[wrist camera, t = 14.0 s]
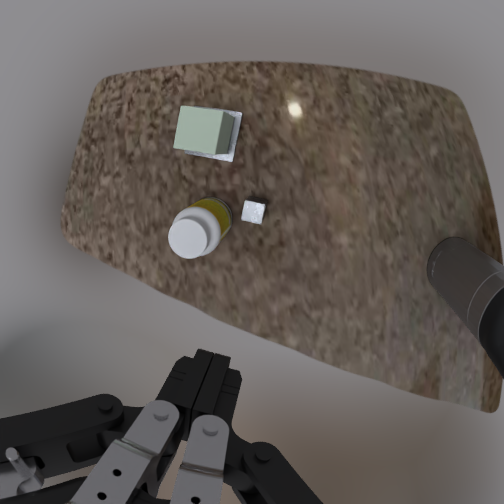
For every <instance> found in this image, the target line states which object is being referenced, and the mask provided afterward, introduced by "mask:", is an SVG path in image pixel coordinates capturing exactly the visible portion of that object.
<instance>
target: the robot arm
mask: <svg viewBox="0 0 504 504" xmlns="http://www.w3.org/2000/svg"><path fill="white" fill-rule="evenodd" d="M427 273H428V278H429V281H430V283H431V284H432V286H433V287H434V288H435V289H436V290H437V291H438V293H439V294H440V295H441V296H442V297H443V298H444V300H445V301H446V302H447V303H448V304H449V306H450V307H451V308H452V309H453V310H454V312H455V313H456V314H457V315H458V316H459V318H460V319H461V320H462V321H463V323H464V324H465V325H466V326H467V328H468V329H469V330H470V331H471V333H472V334H473V335H474V336H475V338H476V339H477V340H478V341H479V343H480V344H481V345H482V347H483V348H484V349H485V351H486V352H487V354H488V356H489V357H490V359H491V360H492V362H493V363H494V365H495V366H496V368H497V369H498V371H499V372H500V374H501V376H502V377H503V379H504V266H503V265H501V264H500V263H499V262H497V261H496V260H494V259H493V258H491V257H490V256H488V255H487V254H485V253H484V252H482V251H481V250H479V249H478V248H476V247H475V246H473V245H472V244H470V243H469V242H467V241H466V240H464V239H462V238H458V237H452V238H448V239H446V240H444V241H442V242H441V243H440V244H439V245H438V246H437V247H436V248H435V249H434V251H433V252H432V254H431V256H430V258H429V262H428V267H427ZM230 359H231V357H228V356H224V355H220V354H217V353H215V354H214V353H213V352H209V351H206V350H202V349H198V350H197V352H196V354H195V356H194V358H190V357H186V356H184V357H182V358H181V359H179V360H178V361H176V363H175V365H174V367H173V368H172V371H171V372H170V374H169V376H168V377H167V379H166V381H165V383H164V385H163V387H162V389H161V390H160V392H159V394H158V396H157V398H156V399H155V401H152V402H149V403H148V404H147V405H146V406H144V407H129V406H123V405H122V403H121V401H120V400H119V399H118V398H117V397H115V396H113V395H110V394H100V395H96V396H92V397H89V398H86V399H82V400H78V401H74V402H71V403H67V404H63V405H59V406H55V407H51V408H47V409H43V410H39V411H34V412H30V413H25V414H21V415H16V416H12V417H7V418H1V419H0V504H220V497H221V490H222V484H223V482H224V483H226V484H228V485H230V486H232V489H233V491H234V493H235V494H236V496H237V497H238V499H239V500H240V502H241V503H242V504H323V503H322V502H321V501H320V500H319V498H318V497H317V496H316V495H315V494H314V493H313V491H312V490H311V489H310V488H309V487H308V486H307V484H306V483H305V482H304V481H303V480H302V479H301V477H300V476H299V475H298V474H297V473H296V471H295V470H294V469H293V468H292V467H291V465H290V464H289V463H288V461H287V460H286V459H285V458H284V456H283V455H282V454H281V453H280V451H279V450H278V449H277V448H276V447H275V446H273V445H271V444H269V443H266V442H255V443H252V444H251V443H249V442H247V441H245V440H243V439H241V438H240V437H238V436H237V435H236V434H235V432H234V431H233V429H232V425H231V423H232V418H233V414H234V410H235V406H236V401H237V398H238V394H239V390H240V386H241V382H242V378H241V375H240V371H238V370H234V369H230V368H229V364H230ZM188 438H189V439H188ZM181 440H184V441H188V442H187V446H186V450H185V454H184V458H183V461H182V464H181V465H180V468H179V471H178V475H177V478H176V482H175V486H174V490H173V494H172V498H171V500H165V499H158V498H156V497H157V494H158V490H159V487H160V484H161V482H162V481H163V479H164V477H165V475H166V473H167V471H168V469H169V467H170V465H171V463H172V461H173V459H174V457H175V455H176V453H177V449H178V447H179V444H180V442H181ZM94 464H96V466H95V467H94V469H93V470H92V472H91V473H90V474H89V476H85V477H79V478H75V479H72V480H69V481H66V482H63V483H60V484H57V485H53V486H50V487H46V488H43V489H41V487H42V486H43V484H44V479H45V478H49V477H53V476H56V475H60V474H64V473H68V472H71V471H75V470H77V469H81V468H84V467H88V466H91V465H94Z"/></svg>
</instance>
